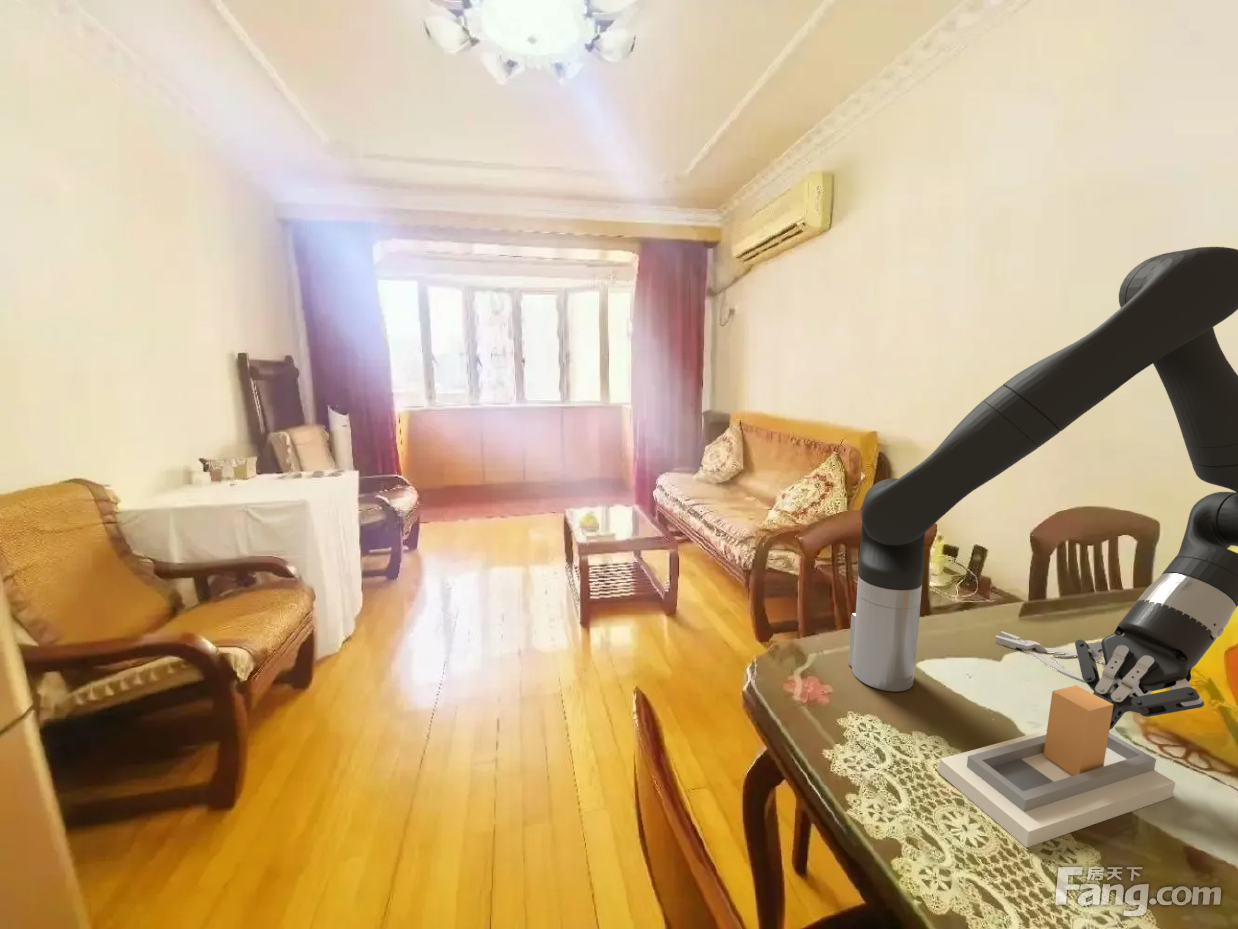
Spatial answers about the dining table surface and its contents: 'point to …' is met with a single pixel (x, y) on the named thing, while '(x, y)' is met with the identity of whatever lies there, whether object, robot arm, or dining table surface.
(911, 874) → the dining table surface
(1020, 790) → the switch board
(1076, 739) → the switch tab
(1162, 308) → the robot arm
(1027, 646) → the pliers
